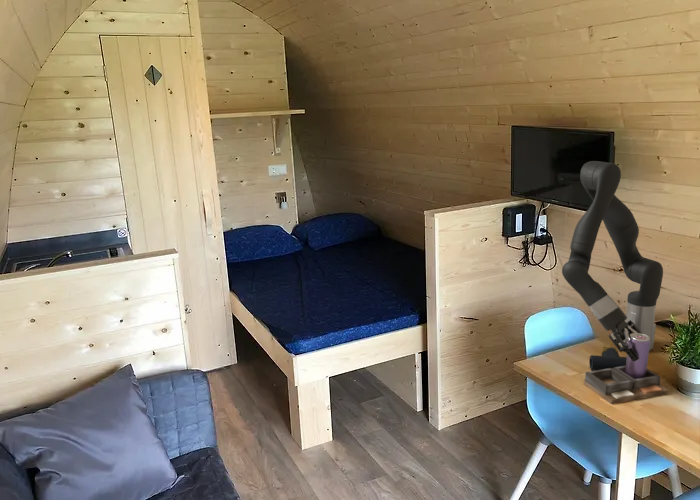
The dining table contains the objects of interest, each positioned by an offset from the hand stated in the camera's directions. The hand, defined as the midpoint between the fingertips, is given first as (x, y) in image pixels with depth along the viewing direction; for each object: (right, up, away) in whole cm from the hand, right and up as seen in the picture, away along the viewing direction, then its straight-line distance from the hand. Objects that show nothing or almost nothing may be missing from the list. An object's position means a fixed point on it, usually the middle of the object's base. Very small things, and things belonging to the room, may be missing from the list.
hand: (641, 355), depth 182 cm
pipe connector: (-2, -7, +16) cm, 17 cm away
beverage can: (-1, -9, +3) cm, 9 cm away
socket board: (-5, -10, +1) cm, 12 cm away
